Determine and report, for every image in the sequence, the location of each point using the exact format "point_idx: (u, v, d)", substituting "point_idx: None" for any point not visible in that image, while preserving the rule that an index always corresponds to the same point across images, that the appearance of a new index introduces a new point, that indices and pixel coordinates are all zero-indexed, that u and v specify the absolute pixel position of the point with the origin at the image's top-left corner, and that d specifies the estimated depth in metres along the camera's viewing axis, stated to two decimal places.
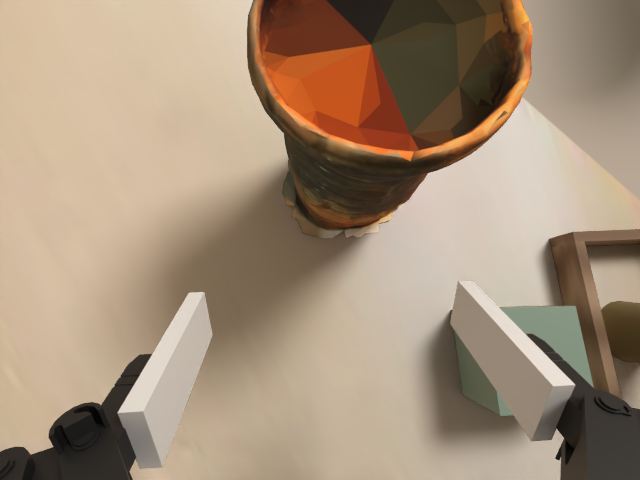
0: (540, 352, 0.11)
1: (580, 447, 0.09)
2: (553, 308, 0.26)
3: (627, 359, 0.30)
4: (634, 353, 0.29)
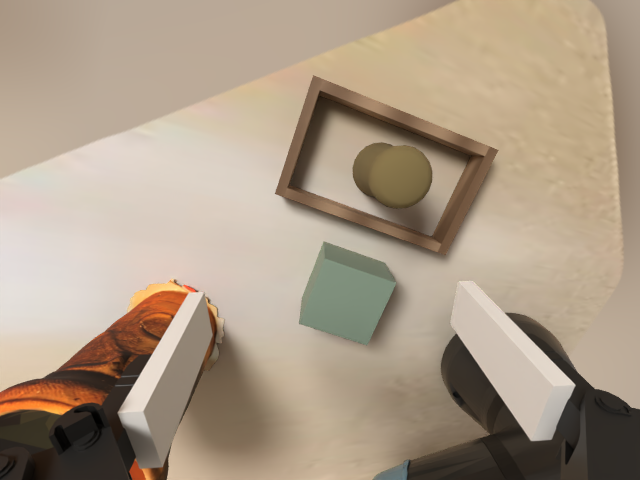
0: (540, 352, 0.11)
1: (580, 447, 0.09)
2: (319, 275, 0.32)
3: None
4: None
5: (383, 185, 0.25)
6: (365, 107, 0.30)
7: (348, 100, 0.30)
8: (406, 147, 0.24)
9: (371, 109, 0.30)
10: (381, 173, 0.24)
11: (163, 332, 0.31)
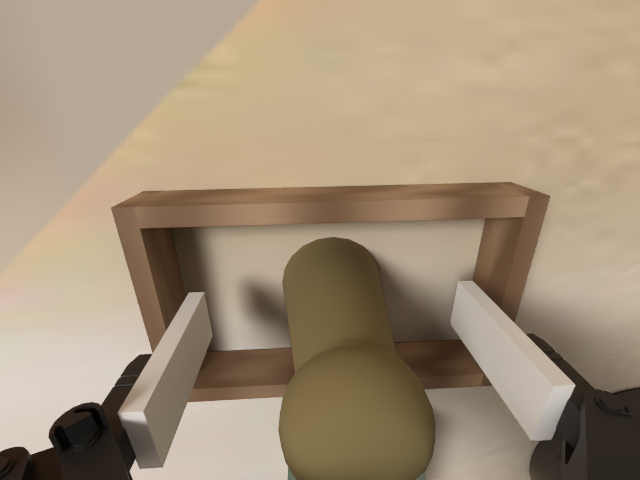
0: (540, 352, 0.11)
1: (580, 447, 0.09)
2: None
3: None
4: None
5: None
6: (245, 223, 0.14)
7: (205, 224, 0.14)
8: (338, 393, 0.09)
9: (258, 222, 0.14)
10: (300, 473, 0.09)
11: None
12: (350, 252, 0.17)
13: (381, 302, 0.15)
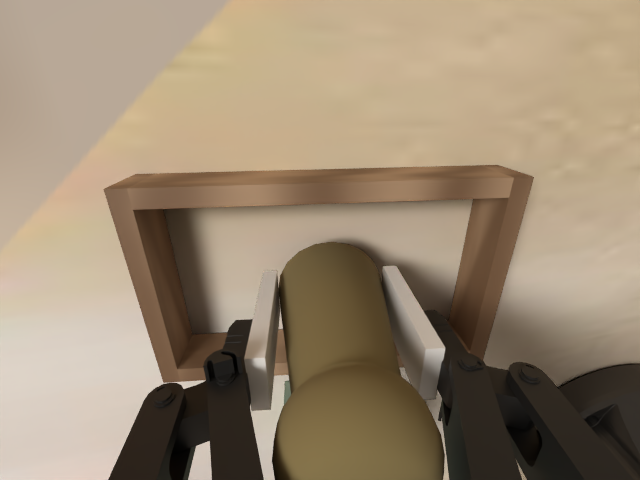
0: (428, 323, 0.13)
1: (454, 409, 0.10)
2: None
3: None
4: None
5: None
6: (237, 204, 0.14)
7: (198, 205, 0.14)
8: (338, 424, 0.08)
9: (250, 203, 0.14)
10: None
11: None
12: (349, 258, 0.16)
13: (383, 313, 0.14)
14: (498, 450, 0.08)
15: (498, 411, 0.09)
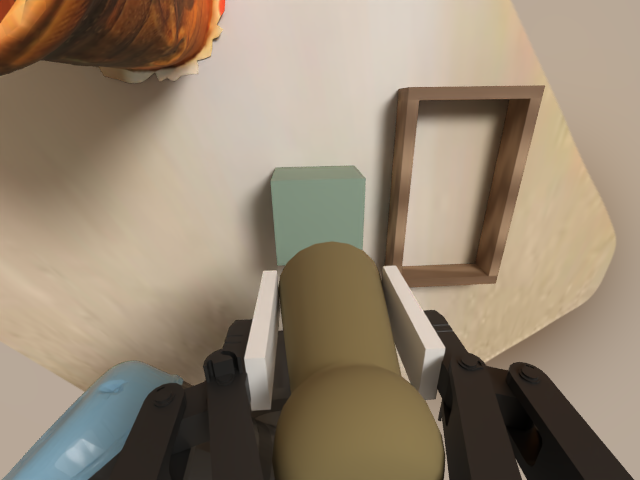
0: (428, 323, 0.13)
1: (454, 409, 0.10)
2: (342, 180, 0.26)
3: None
4: None
5: None
6: (518, 153, 0.29)
7: (523, 133, 0.28)
8: (338, 424, 0.08)
9: (517, 160, 0.29)
10: None
11: None
12: (350, 258, 0.16)
13: (383, 312, 0.14)
14: (498, 450, 0.08)
15: (498, 411, 0.09)
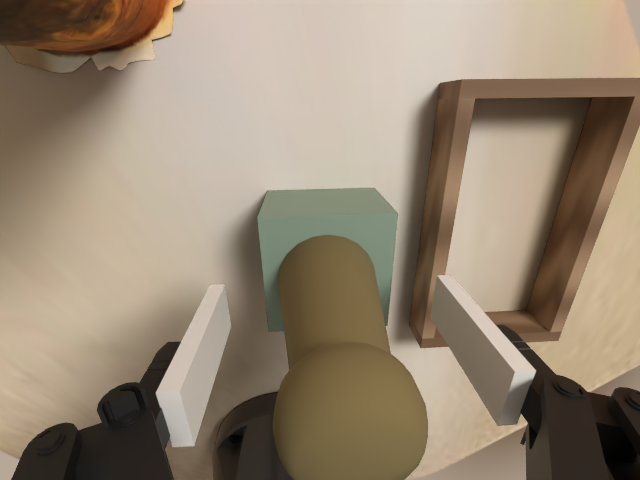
0: (507, 341, 0.12)
1: (542, 432, 0.09)
2: (363, 216, 0.18)
3: None
4: None
5: None
6: (607, 174, 0.21)
7: (618, 146, 0.20)
8: (331, 390, 0.09)
9: (605, 183, 0.21)
10: (293, 470, 0.09)
11: None
12: (345, 249, 0.17)
13: (375, 299, 0.15)
14: None
15: (599, 446, 0.08)
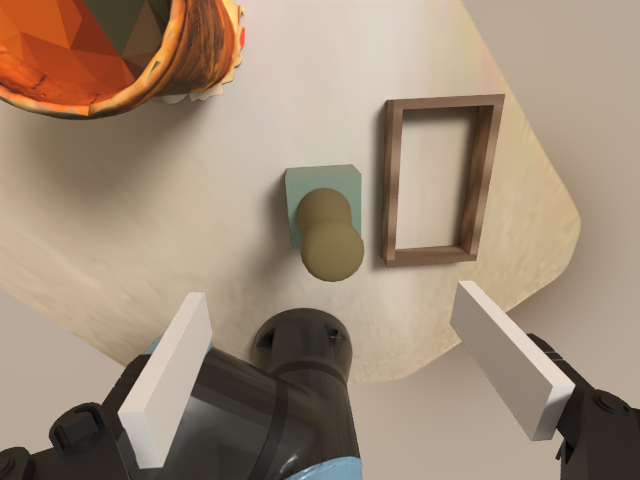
0: (540, 352, 0.11)
1: (580, 447, 0.09)
2: (342, 176, 0.32)
3: None
4: None
5: (317, 271, 0.24)
6: (487, 150, 0.35)
7: (490, 133, 0.34)
8: (323, 228, 0.24)
9: (486, 155, 0.35)
10: (310, 262, 0.24)
11: (216, 28, 0.24)
12: (332, 193, 0.32)
13: (347, 213, 0.29)
14: None
15: None
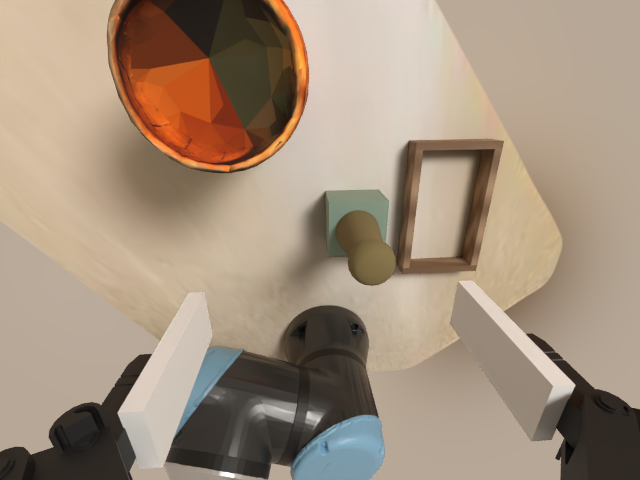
0: (540, 352, 0.11)
1: (580, 447, 0.09)
2: (374, 202, 0.41)
3: None
4: None
5: (361, 278, 0.33)
6: (488, 183, 0.44)
7: (491, 170, 0.43)
8: (368, 246, 0.32)
9: (487, 187, 0.44)
10: (356, 271, 0.33)
11: None
12: (366, 215, 0.40)
13: (379, 233, 0.38)
14: None
15: None
